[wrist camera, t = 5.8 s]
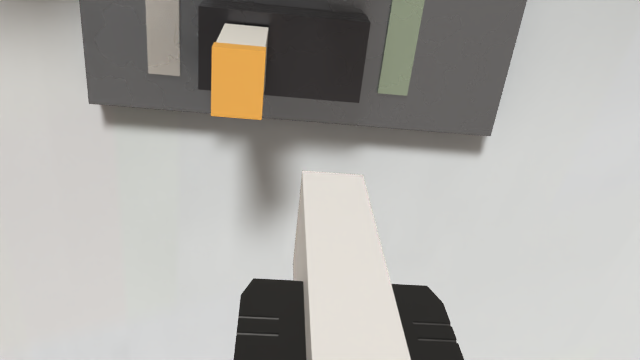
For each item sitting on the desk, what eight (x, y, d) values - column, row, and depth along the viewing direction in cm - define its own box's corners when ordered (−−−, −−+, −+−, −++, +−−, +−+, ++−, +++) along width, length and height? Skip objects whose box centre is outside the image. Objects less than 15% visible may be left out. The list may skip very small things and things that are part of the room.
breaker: (222, 82, 27) (210, 115, 23) (223, 22, 26) (211, 46, 22) (265, 86, 27) (261, 120, 23) (269, 26, 26) (265, 51, 22)
